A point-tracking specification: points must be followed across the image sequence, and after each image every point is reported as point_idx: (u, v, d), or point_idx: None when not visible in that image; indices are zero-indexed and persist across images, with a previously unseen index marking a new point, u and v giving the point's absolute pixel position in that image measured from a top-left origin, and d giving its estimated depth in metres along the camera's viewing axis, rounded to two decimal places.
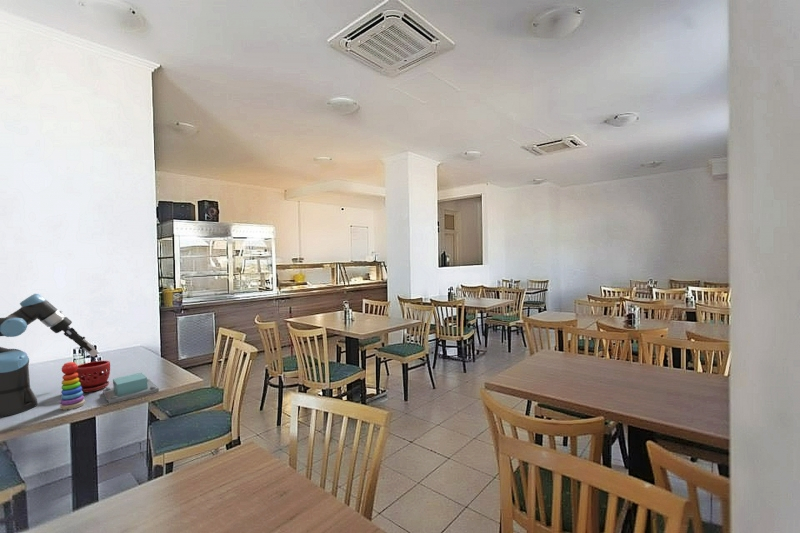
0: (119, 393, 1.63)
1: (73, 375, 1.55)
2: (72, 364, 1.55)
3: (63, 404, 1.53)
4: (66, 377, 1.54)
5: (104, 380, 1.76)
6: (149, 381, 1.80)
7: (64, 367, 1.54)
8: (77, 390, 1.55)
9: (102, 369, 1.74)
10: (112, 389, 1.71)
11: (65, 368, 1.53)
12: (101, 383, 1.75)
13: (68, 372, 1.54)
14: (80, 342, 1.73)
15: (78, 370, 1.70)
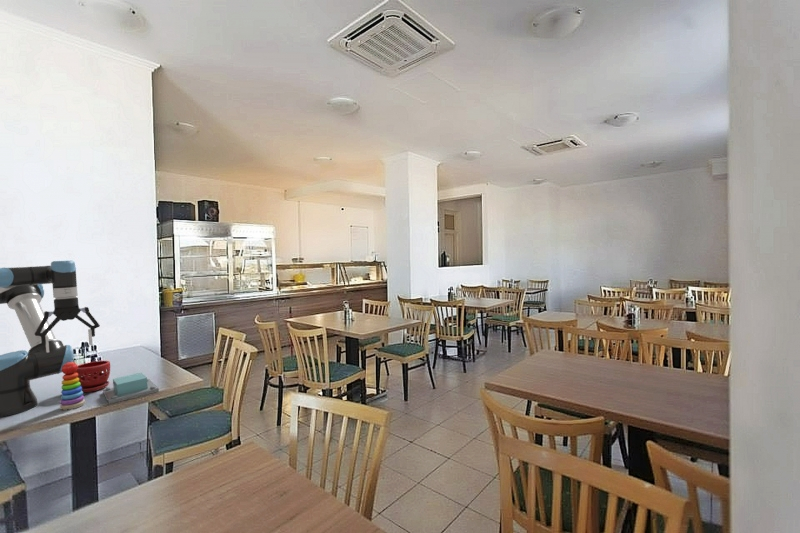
0: (119, 393, 1.63)
1: (73, 375, 1.55)
2: (72, 364, 1.55)
3: (63, 404, 1.53)
4: (66, 377, 1.54)
5: (104, 380, 1.76)
6: (149, 381, 1.80)
7: (64, 367, 1.54)
8: (77, 390, 1.55)
9: (102, 369, 1.74)
10: (112, 389, 1.71)
11: (65, 368, 1.53)
12: (101, 383, 1.75)
13: (68, 372, 1.54)
14: (36, 330, 1.49)
15: (78, 370, 1.70)
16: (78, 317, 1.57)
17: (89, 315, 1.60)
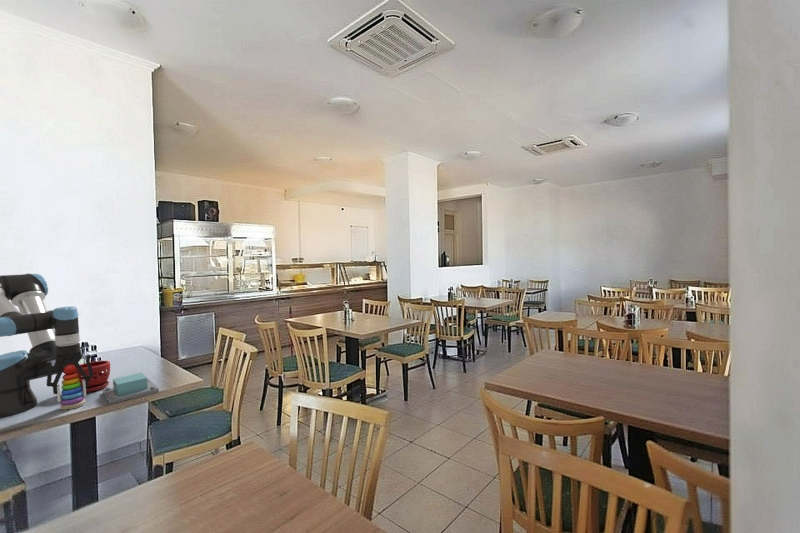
0: (119, 393, 1.63)
1: (73, 375, 1.55)
2: (72, 364, 1.55)
3: (63, 404, 1.53)
4: (66, 377, 1.54)
5: (104, 380, 1.76)
6: (149, 381, 1.80)
7: None
8: (77, 390, 1.55)
9: (102, 369, 1.74)
10: (112, 389, 1.71)
11: (65, 368, 1.53)
12: (101, 383, 1.75)
13: (68, 372, 1.54)
14: (47, 380, 1.51)
15: (78, 370, 1.70)
16: (77, 365, 1.56)
17: (88, 363, 1.59)
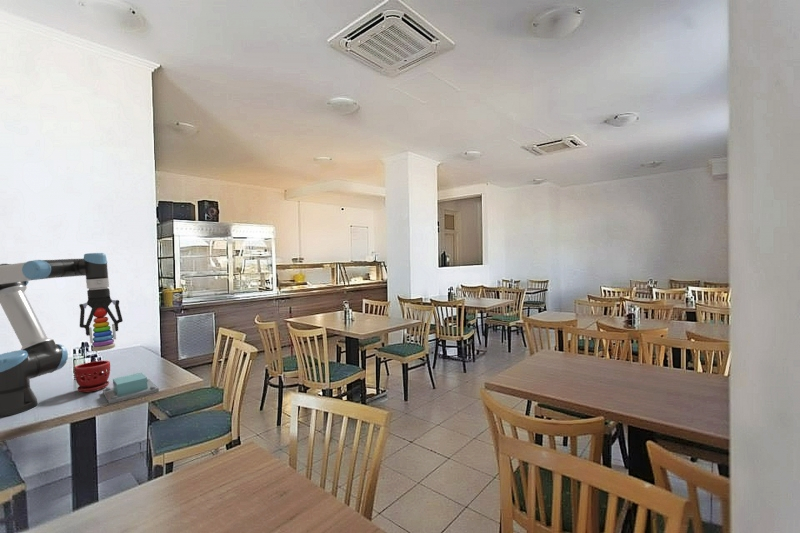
0: (119, 393, 1.63)
1: (103, 318, 1.61)
2: (102, 308, 1.62)
3: (95, 345, 1.59)
4: (97, 320, 1.60)
5: (104, 380, 1.76)
6: (149, 381, 1.80)
7: None
8: (107, 333, 1.62)
9: (102, 369, 1.74)
10: (112, 389, 1.71)
11: (96, 311, 1.60)
12: (101, 383, 1.75)
13: (99, 315, 1.60)
14: None
15: (78, 370, 1.70)
16: (107, 309, 1.62)
17: (117, 308, 1.65)
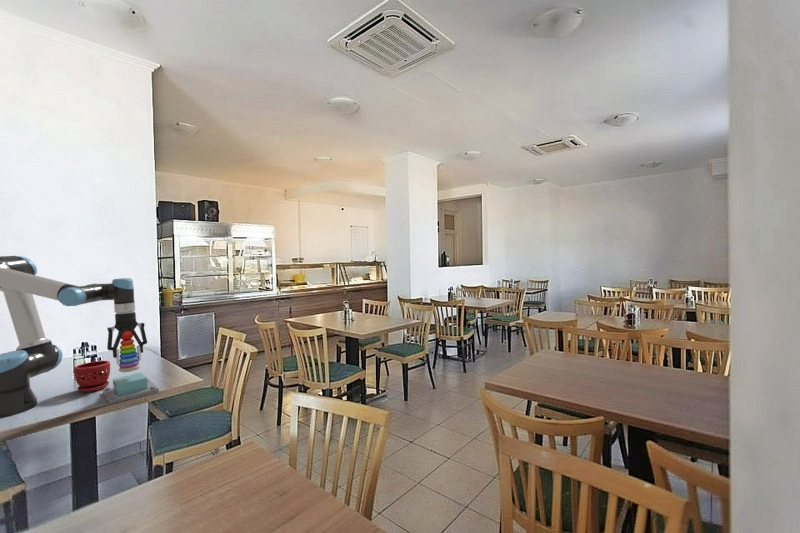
0: (119, 393, 1.63)
1: (130, 341, 1.69)
2: (129, 331, 1.69)
3: (122, 367, 1.66)
4: (124, 342, 1.67)
5: (104, 380, 1.76)
6: (149, 381, 1.80)
7: None
8: (134, 355, 1.69)
9: (102, 369, 1.74)
10: (112, 389, 1.71)
11: (123, 334, 1.67)
12: (101, 383, 1.75)
13: (126, 338, 1.68)
14: (107, 345, 1.64)
15: (78, 370, 1.70)
16: (134, 331, 1.70)
17: (142, 331, 1.73)
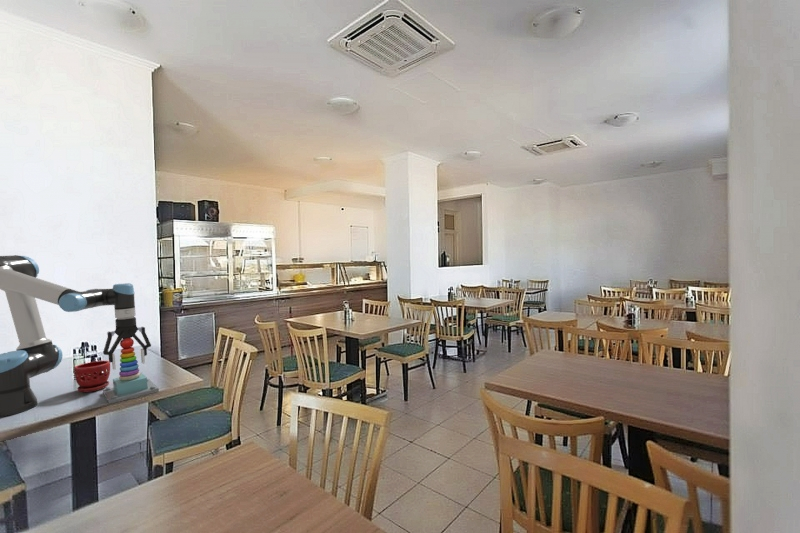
0: (119, 393, 1.63)
1: (130, 349, 1.69)
2: (129, 339, 1.69)
3: (122, 375, 1.67)
4: (124, 351, 1.67)
5: (104, 380, 1.76)
6: (149, 381, 1.80)
7: (122, 341, 1.67)
8: (134, 363, 1.69)
9: (102, 369, 1.74)
10: (112, 389, 1.71)
11: (123, 342, 1.67)
12: (101, 383, 1.75)
13: (126, 346, 1.68)
14: (104, 349, 1.64)
15: (78, 370, 1.70)
16: (135, 336, 1.70)
17: (144, 335, 1.73)
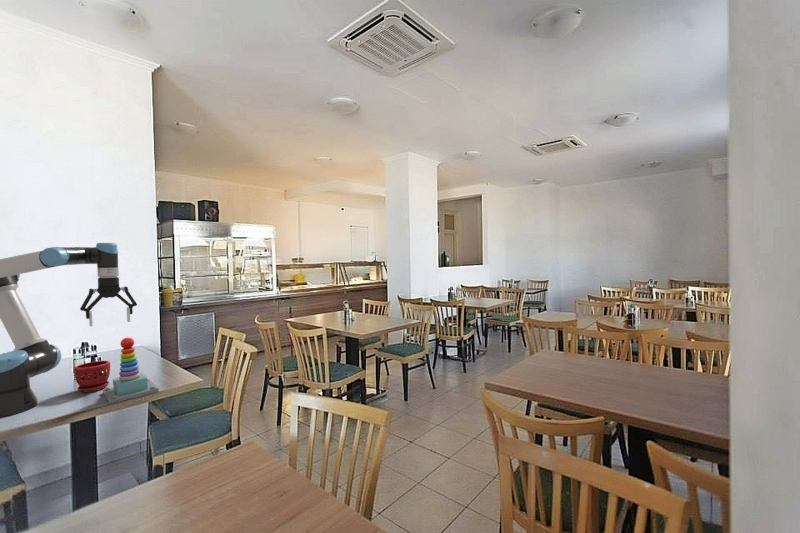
0: (119, 393, 1.63)
1: (131, 349, 1.69)
2: (130, 339, 1.69)
3: (122, 375, 1.67)
4: (125, 351, 1.67)
5: (104, 380, 1.76)
6: (149, 381, 1.80)
7: (123, 341, 1.67)
8: (134, 363, 1.69)
9: (102, 369, 1.74)
10: (112, 389, 1.71)
11: (124, 342, 1.67)
12: (101, 383, 1.75)
13: (127, 346, 1.68)
14: (82, 305, 1.62)
15: (78, 370, 1.70)
16: (118, 295, 1.70)
17: (128, 294, 1.73)
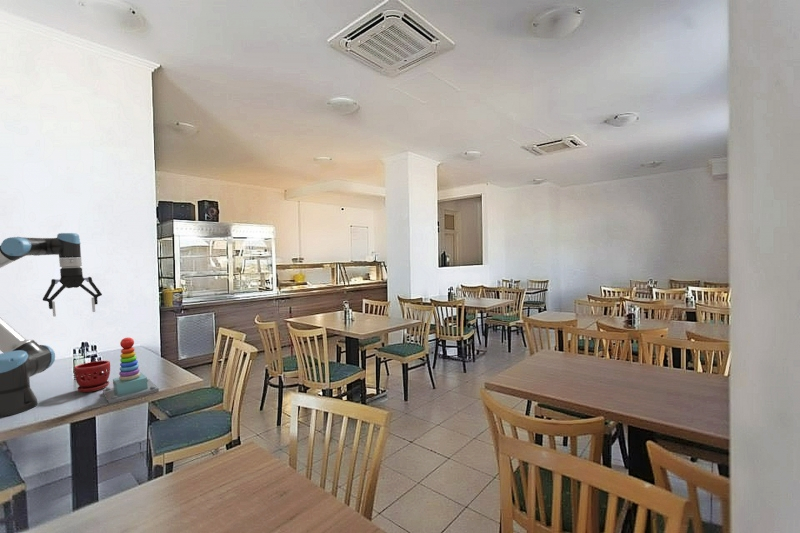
0: (119, 393, 1.63)
1: (131, 349, 1.69)
2: (130, 339, 1.69)
3: (122, 375, 1.67)
4: (125, 351, 1.67)
5: (104, 380, 1.76)
6: (149, 381, 1.80)
7: (123, 342, 1.67)
8: (134, 363, 1.69)
9: (102, 369, 1.74)
10: (112, 389, 1.71)
11: (124, 342, 1.67)
12: (101, 383, 1.75)
13: (126, 346, 1.68)
14: None
15: (78, 370, 1.70)
16: (82, 285, 1.70)
17: (92, 284, 1.73)
